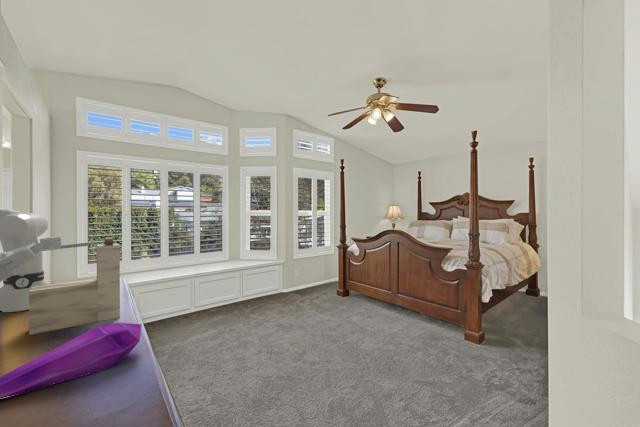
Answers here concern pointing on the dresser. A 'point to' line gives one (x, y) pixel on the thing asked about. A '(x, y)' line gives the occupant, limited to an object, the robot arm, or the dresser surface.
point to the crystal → (74, 358)
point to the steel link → (57, 244)
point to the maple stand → (79, 296)
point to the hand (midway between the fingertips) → (51, 241)
